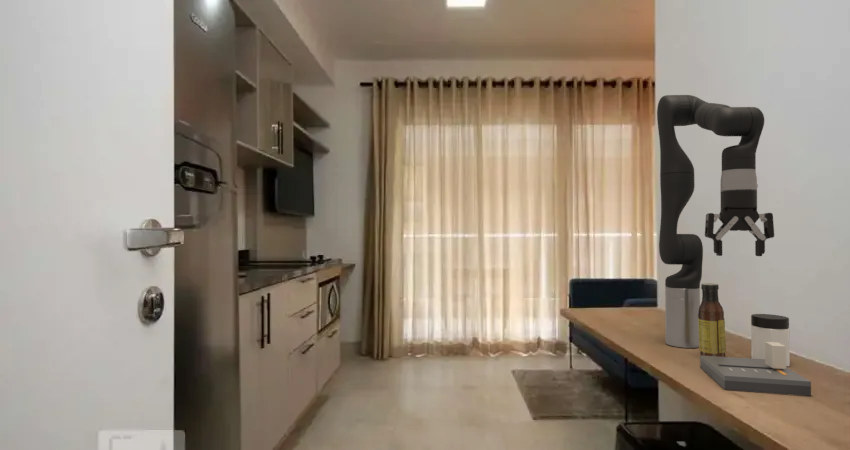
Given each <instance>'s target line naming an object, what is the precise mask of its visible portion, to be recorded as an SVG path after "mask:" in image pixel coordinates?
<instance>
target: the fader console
mask: <svg viewBox="0 0 850 450" xmlns="http://www.w3.org/2000/svg"><path fill="white" fill-rule="evenodd" d="M699 364H700V365H699V366H700V367H699V368H700V369H702V371H703V372H704V373H706V374H707V376H709V377H710V379H712V380H713V381H714V382H716V384H717V385H719V386H720V387H721V388H722V389H723V390H725V391H737V392H747V393H748V392H749V393H750V392H751V393H763V394H764V393H765V394H776V395H777V394H779V395H791V396H803V397H804V396H805V397H811V396H812V381H811V380H809V379H807V378H806V377H804V376H802V375H801V374H799V373H797V372H795V371H794V370H792V369H790V368H789V367H786V369H778V370H773V368H772V367H770V366H768V365H767V364H765V359H752V358H751V357H750V358H748V357H733V356H732V357H731V356H726V357H718V356H701V354H700V356H699Z"/></svg>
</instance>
